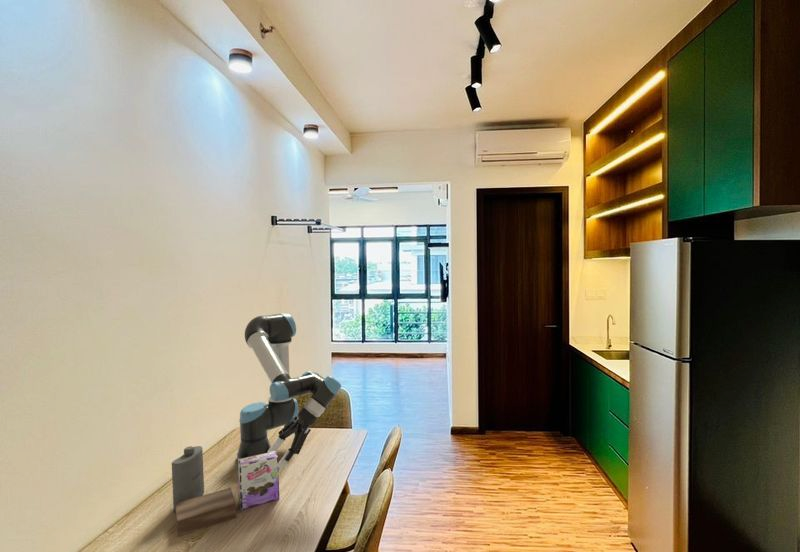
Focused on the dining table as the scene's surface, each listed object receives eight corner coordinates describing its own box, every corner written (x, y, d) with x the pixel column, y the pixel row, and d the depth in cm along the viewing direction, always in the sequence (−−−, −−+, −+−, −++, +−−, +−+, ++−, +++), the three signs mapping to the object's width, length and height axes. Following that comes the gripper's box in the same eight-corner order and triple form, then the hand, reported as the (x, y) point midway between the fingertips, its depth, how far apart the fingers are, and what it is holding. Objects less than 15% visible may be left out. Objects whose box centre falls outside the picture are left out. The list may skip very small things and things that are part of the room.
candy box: (240, 510, 145) (238, 465, 144) (238, 502, 150) (237, 458, 150) (279, 499, 151) (278, 456, 151) (276, 491, 156) (275, 449, 156)
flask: (186, 512, 144) (183, 457, 144) (170, 512, 145) (168, 457, 144) (208, 489, 159) (206, 439, 159) (194, 489, 160) (192, 439, 159)
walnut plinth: (176, 517, 142) (175, 503, 142) (231, 500, 151) (230, 487, 151) (177, 536, 131) (177, 521, 131) (236, 517, 141) (235, 503, 141)
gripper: (329, 427, 150) (291, 479, 143) (307, 408, 172) (273, 453, 164) (315, 416, 147) (275, 469, 140) (294, 398, 169) (259, 443, 161)
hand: (274, 460), depth 152 cm, fingers open, 13 cm apart
